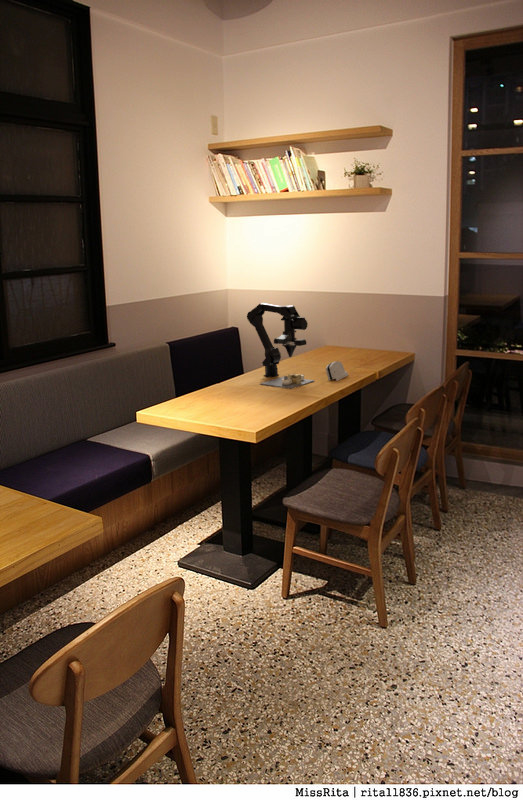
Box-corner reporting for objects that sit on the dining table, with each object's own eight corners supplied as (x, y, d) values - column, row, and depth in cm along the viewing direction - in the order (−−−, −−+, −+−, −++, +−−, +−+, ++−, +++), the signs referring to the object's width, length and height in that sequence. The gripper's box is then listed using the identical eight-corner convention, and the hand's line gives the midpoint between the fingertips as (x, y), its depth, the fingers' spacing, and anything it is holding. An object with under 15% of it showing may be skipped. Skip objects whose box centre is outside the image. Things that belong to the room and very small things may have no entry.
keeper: (288, 384, 367) (287, 374, 366) (292, 382, 370) (292, 373, 369) (296, 385, 364) (296, 375, 362) (301, 384, 367) (301, 374, 365)
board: (259, 384, 370) (259, 383, 369) (283, 377, 385) (283, 376, 385) (290, 388, 356) (290, 387, 356) (314, 381, 372) (314, 380, 372)
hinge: (337, 381, 371) (331, 363, 370) (329, 383, 373) (323, 365, 373) (348, 375, 385) (342, 358, 384) (341, 377, 387) (335, 360, 387)
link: (286, 385, 361) (286, 377, 360) (280, 384, 364) (280, 376, 363) (305, 379, 373) (305, 371, 372) (298, 378, 376) (298, 371, 375)
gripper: (266, 329, 375) (268, 358, 379) (294, 331, 364) (295, 360, 367) (279, 327, 384) (280, 354, 387) (306, 329, 372) (307, 357, 376)
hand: (290, 357), depth 379 cm, fingers closed
